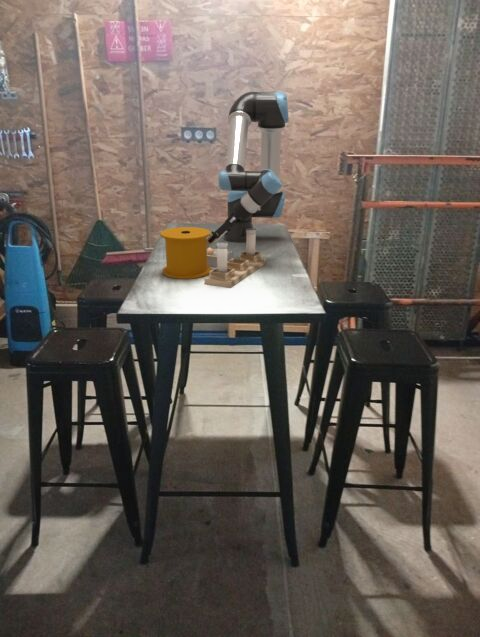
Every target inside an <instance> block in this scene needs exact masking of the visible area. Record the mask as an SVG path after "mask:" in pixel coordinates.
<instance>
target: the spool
mask: <svg viewBox="0 0 480 637" xmlns="http://www.w3.org/2000/svg"><path fill="white" fill-rule="evenodd" d="M210 236H211V231H210V230H209V229H206V228H202V227H195V226H194V227H193V226H181V227H171V228H167V229H164V230H162V231H161V232H160V237H161V238H163V239H164V241H165V243H164V244H165V258H166V260H165V261H166V266H165V267H164V268H163V269H162V274H163V275H164V276H166V277H169V278H173V279H179V280H180V279H181V280H183V279H184V280H187V279H188V280H190V279H198V278H203V277H205V276H206V277H207V276H209V272H210V271H211V270H212V266H208V265H207V239H208V238H209V237H210Z"/></svg>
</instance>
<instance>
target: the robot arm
mask: <svg viewBox="0 0 480 637" xmlns="http://www.w3.org/2000/svg"><path fill="white" fill-rule="evenodd" d="M287 96H288V95H287V94H286V93H285V92H281V91H248V92H245V93H243V94H242V95H240V96H239V97H238V98H236V100H235V101H234V102H233V104H232V105H231V106H230V109H229V112H228V119H227V123H228V125H229V132H228V139H227V149H226V151H227V152H226V160H225V169H224V170H220V171H219V173H218V187H219V190H221V191H227V192H228V194H227V201H226V202H227V218H226V219H225V221H224V223H223V224H221V226H219V227H218V228H217V229H216V230H215V231H211V234H210V236H208V237H207V238H206V239H207V249H208V248H209V247H210V248H211V246H212V245H213V244H215V243H218V241H219V240H220V239H221V238H222V237H223V239H224V240H225V241H227V242H233V243H246V229H248V228H253V229H254V226H253V218H263V219H264V218H265V219H275V218H276V219H278V218H281V216H282V215H283V212H284V206H285V198H286V193H285V192H284V191H283V188H282V187H283V182H282V181H281V179H280V178H281V176H280V175H281V174H280V173H281V172H280V171H281V169H280V168H281V148H282V131H283V130H284V129H285V127H286V123H289V121H290V120H289V107H288V106H289V105H288V104H289V103H288V97H287ZM252 123H257V128H258V129H259V130H260V131H261V132H260V133H261V135H260V137H261V139H260V140H261V141H260V143H261V144H260V170H254V171H253V170H245V168H246V166H245V165H246V155H247V145H248V133H249V127H250V126H251V124H252Z"/></svg>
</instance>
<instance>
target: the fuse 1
mask: <svg viewBox="0 0 480 637" xmlns="http://www.w3.org/2000/svg"><path fill="white" fill-rule="evenodd" d="M228 246H229V243H228V242H225V241H221V242H220V241H219V242H218V241H217V242H216V249H217V267H216V268H217V272H219V273H227V250H228V248H229V247H228Z"/></svg>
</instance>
